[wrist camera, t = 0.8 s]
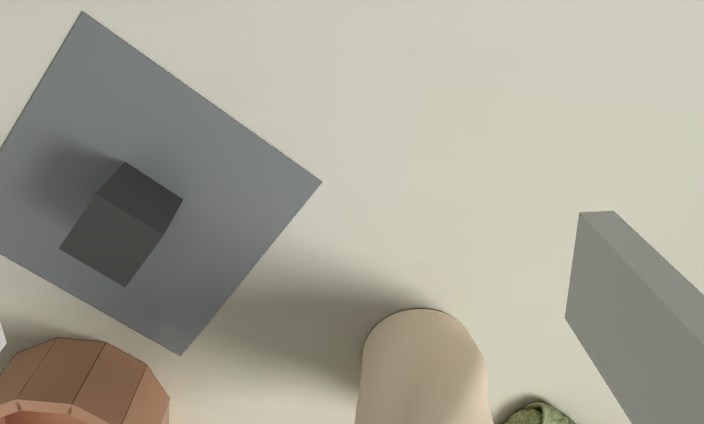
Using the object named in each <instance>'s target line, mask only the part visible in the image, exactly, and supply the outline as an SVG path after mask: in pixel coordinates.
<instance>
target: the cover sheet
mask: <svg viewBox="0 0 704 424" xmlns="http://www.w3.org/2000/svg"><path fill="white" fill-rule="evenodd" d="M321 183H322V181H320V180H319V179H318V178H316V177H315V176H313V175H312V174H311V173H309V172H308V171H306V170H305V169H304V168H302V167H301V166H299V165H298V164H297V163H295V162H294V161H292V160H291V159H290V158H288V157H287V156H285V155H284V154H283V153H281V152H280V151H278V150H277V149H276V148H274V147H273V146H271V145H270V144H268V143H267V142H266V141H264V140H263V139H261V138H260V137H259V136H257V135H256V134H254V133H253V132H252V131H250V130H249V129H247V128H246V127H245V126H243V125H242V124H240V123H239V122H238V121H236V120H235V119H233V118H232V117H231V116H229V115H228V114H226V113H225V112H224V111H222V110H221V109H219V108H218V107H217V106H215V105H214V104H212V103H211V102H210V101H208V100H207V99H205V98H204V97H202V96H201V95H200V94H198V93H197V92H195V91H194V90H193V89H191V88H190V87H188V86H187V85H186V84H184V83H183V82H181V81H180V80H179V79H177V78H176V77H174V76H173V75H172V74H170V73H169V72H167V71H166V70H165V69H163V68H162V67H160V66H159V65H158V64H156V63H155V62H153V61H152V60H151V59H149V58H148V57H146V56H145V55H144V54H142V53H141V52H139V51H138V50H136V49H135V48H134V47H132V46H131V45H129V44H128V43H127V42H125V41H124V40H122V39H121V38H120V37H118V36H117V35H115V34H114V33H113V32H111V31H110V30H108V29H107V28H106V27H104V26H103V25H101V24H100V23H99V22H97V21H96V20H94V19H93V18H92V17H90V16H89V15H87V14H86V13H85V12H82V14H81V15H80V17H79V19H78V20H77V22H76V24H75V25H74V27H73V29H72V30H71V32H70V34H69V36H68V37H67V39H66V41H65V42H64V44H63V46H62V47H61V49H60V51H59V52H58V54H57V56H56V57H55V59H54V61H53V63H52V64H51V66H50V68H49V69H48V71H47V73H46V74H45V76H44V78H43V79H42V81H41V83H40V84H39V86H38V88H37V90H36V91H35V93H34V95H33V96H32V98H31V100H30V101H29V103H28V105H27V106H26V108H25V110H24V111H23V113H22V115H21V117H20V118H19V120H18V122H17V123H16V125H15V127H14V128H13V130H12V132H11V133H10V135H9V137H8V138H7V140H6V142H5V144H4V145H3V147H2V149H1V150H0V254H1V255H3V256H5V257H6V258H8V259H10V260H12V261H14V262H15V263H17V264H19V265H21V266H22V267H24V268H26V269H28V270H29V271H31V272H33V273H35V274H36V275H38V276H40V277H42V278H44V279H45V280H47V281H49V282H51V283H52V284H54V285H56V286H58V287H59V288H61V289H63V290H65V291H66V292H68V293H70V294H72V295H74V296H75V297H77V298H79V299H81V300H82V301H84V302H86V303H88V304H89V305H91V306H93V307H95V308H96V309H98V310H100V311H102V312H104V313H105V314H107V315H109V316H111V317H112V318H114V319H116V320H118V321H119V322H121V323H123V324H125V325H126V326H128V327H130V328H132V329H134V330H135V331H137V332H139V333H141V334H142V335H144V336H146V337H148V338H149V339H151V340H153V341H155V342H156V343H158V344H160V345H162V346H164V347H165V348H167V349H169V350H171V351H172V352H174V353H176V354H178V355H179V356H181V355H182V354H183V352H184V351H185V350H186V349H187V348H188V346H189V345H190V344H191V343H192V341H193V340H194V339H195V338H196V336H197V335H198V334H199V333H200V332H201V330H202V329H203V328H204V327H205V325H206V324H207V323H208V322H209V321H210V319H211V318H212V317H213V316H214V314H215V313H216V312H217V311H218V309H219V308H220V307H221V306H222V305H223V303H224V302H225V301H226V300H227V298H228V297H229V296H230V295H231V294H232V292H233V291H234V290H235V289H236V287H237V286H238V285H239V284H240V282H241V281H242V280H243V279H244V278H245V276H246V275H247V274H248V273H249V271H250V270H251V269H252V268H253V267H254V265H255V264H256V263H257V262H258V260H259V259H260V258H261V257H262V255H263V254H264V253H265V252H266V251H267V249H268V248H269V247H270V246H271V244H272V243H273V242H274V241H275V240H276V238H277V237H278V236H279V235H280V233H281V232H282V231H283V230H284V228H285V227H286V226H287V225H288V224H289V222H290V221H291V220H292V219H293V217H294V216H295V215H296V214H297V213H298V211H299V210H300V209H301V208H302V206H303V205H304V204H305V203H306V201H307V200H308V199H309V198H310V197H311V195H312V194H313V193H314V192H315V190H316V189H317V188H318V187H319V186H320V184H321Z"/></svg>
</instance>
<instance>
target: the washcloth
mask: <svg viewBox="0 0 704 424" xmlns="http://www.w3.org/2000/svg"><path fill="white" fill-rule="evenodd" d="M504 424H575V423H574V421H572V420H571V418H569V417H567V416H566V417H565V416H564V415H562V414H561V413H560V412H559V411H557V410H556V409H554V408H553V407H552V406H551V405H548V404H546V403H545V404H544V403H542V402H535V403H531V404H529V405H527V406H525V407H524V408H523V409H522V410H520V411H518V412H516V413H515V414H514V415H512V416H511V417H510V418H509V419H508V421H506V422H505V423H504Z"/></svg>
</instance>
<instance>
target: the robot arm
mask: <svg viewBox="0 0 704 424" xmlns="http://www.w3.org/2000/svg"><path fill="white" fill-rule="evenodd" d="M565 319H566V321H567V322H568V324H569V325H570V327H571V328H572V330H573V332H574V333H575V335H576V336H577V338H578V340H579V341H580V343H581V344H582V346H583V347H584V349H585V351H586V352H587V354H588V355H589V357H590V358H591V360H592V362H593V363H594V365H595V366H596V368H597V369H598V371H599V373H600V374H601V376H602V377H603V379H604V380H605V382H606V384H607V385H608V387H609V388H610V390H611V391H612V393H613V395H614V396H615V398H616V399H617V401H618V402H619V404H620V406H621V407H622V409H623V410H624V412H625V414H626V415H627V417H628V418H629V420H630V421H631V423H632V424H704V295H703V294H702V293H701V292H700V291H699V290H698V289H697V288H695V287H694V286H693V285H692V284H691V283H690V282H689V281H688V280H687V279H686V278H685V277H684V276H683V275H682V274H681V273H679V272H678V271H677V270H676V269H675V268H674V267H673V266H672V265H671V264H670V263H669V262H668V261H667V260H666V259H665V258H663V257H662V256H661V255H660V254H659V253H658V252H657V251H656V250H655V249H654V248H653V247H652V246H651V245H650V244H648V243H647V242H646V241H645V240H644V239H643V238H642V237H641V236H640V235H639V234H638V233H637V232H636V231H635V230H634V229H632V228H631V227H630V226H629V225H628V224H627V223H626V222H625V221H624V220H623V219H622V218H621V217H620V216H619V215H618V214H616V213H615V212H614V211H601V212H579V219H578V226H577V233H576V240H575V248H574V255H573V262H572V269H571V276H570V284H569V291H568V298H567V305H566V313H565ZM6 344H7V342H6V339H5V336H4V332H3V329H2V326H1V323H0V351H1V350H2V349H3V347H4V346H5V345H6Z"/></svg>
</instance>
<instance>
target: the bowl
mask: <svg viewBox="0 0 704 424" xmlns="http://www.w3.org/2000/svg"><path fill="white" fill-rule="evenodd" d="M0 424H169V397H168V395H167V394H166V392H165V391H164V389H163V388H162V386H161V385H160V384H159V382H158V381H157V379H156V378H155V376H154V375H153V373H152V372H151V370H150V369H149V367H148V366H146V364H144V363H143V362H141V361H139V360H137V359H135V358H133V357H132V356H130V355H128V354H126V353H124V352H123V351H121V350H119V349H117V348H115V347H113V346H112V345H110V344H108V343H106V344H105V342H97V341H86V340H76V339H65V338H56V339H53V340H50V341H48V342H45V343H42V344H40V345H37V346H34V347H32V348H29V349H26V350H24V351H21V352H18V353H17V354H16V355H15V356H14V357H13V359H12V360H11V361H10V363H9V364H8V365H7V367H6V368H5V369H4V371H3V372H2V373H1V375H0Z"/></svg>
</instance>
